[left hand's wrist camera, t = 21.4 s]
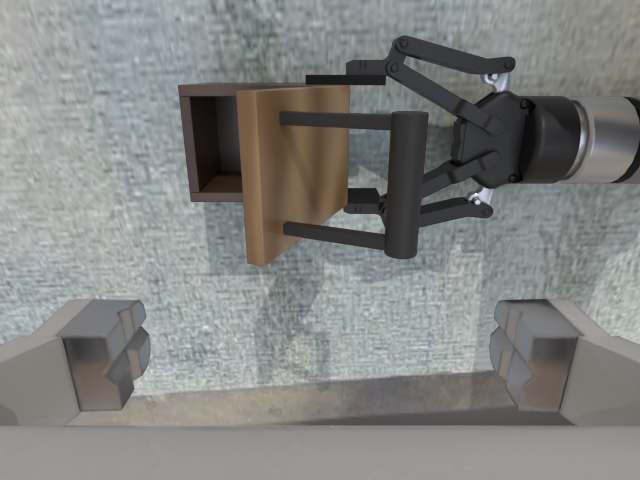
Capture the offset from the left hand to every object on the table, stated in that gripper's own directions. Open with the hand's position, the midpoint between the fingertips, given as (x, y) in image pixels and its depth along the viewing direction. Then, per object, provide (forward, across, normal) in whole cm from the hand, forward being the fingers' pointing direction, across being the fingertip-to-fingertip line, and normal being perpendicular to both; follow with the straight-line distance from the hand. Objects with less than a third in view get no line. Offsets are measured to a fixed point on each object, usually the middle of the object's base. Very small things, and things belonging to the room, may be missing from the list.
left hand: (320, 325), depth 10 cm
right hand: (+30, -1, 0) cm, 30 cm away
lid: (+20, -1, 0) cm, 20 cm away
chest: (+36, -5, 0) cm, 37 cm away
